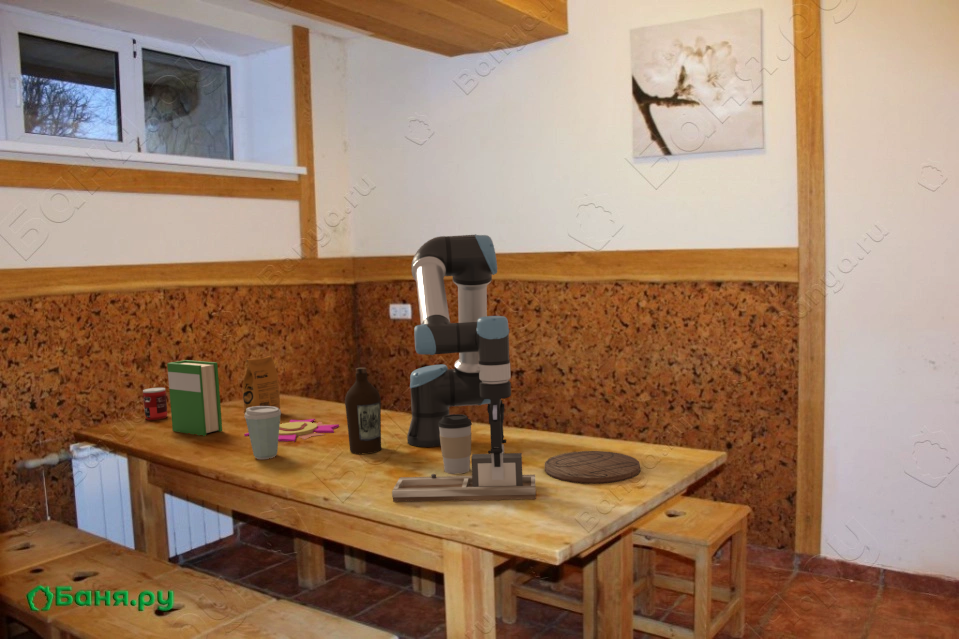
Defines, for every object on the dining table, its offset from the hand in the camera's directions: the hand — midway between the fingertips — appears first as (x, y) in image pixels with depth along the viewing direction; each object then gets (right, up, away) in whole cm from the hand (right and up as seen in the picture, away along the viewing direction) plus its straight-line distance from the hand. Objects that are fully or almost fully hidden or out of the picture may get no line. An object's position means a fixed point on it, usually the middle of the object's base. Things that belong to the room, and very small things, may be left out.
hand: (498, 474), depth 187 cm
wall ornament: (-68, -1, +75) cm, 101 cm away
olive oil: (-39, -2, +46) cm, 60 cm away
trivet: (+25, -3, +17) cm, 30 cm away
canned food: (-128, 0, +107) cm, 167 cm away
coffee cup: (-11, -3, +21) cm, 24 cm away
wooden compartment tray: (-8, -5, +1) cm, 9 cm away
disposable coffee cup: (-68, -4, +43) cm, 81 cm away
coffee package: (-86, +1, +103) cm, 135 cm away
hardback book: (-103, -1, +82) cm, 131 cm away
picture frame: (0, -3, 0) cm, 3 cm away
